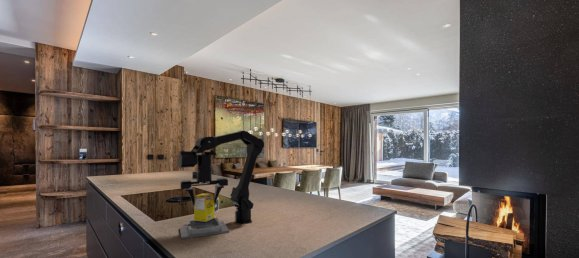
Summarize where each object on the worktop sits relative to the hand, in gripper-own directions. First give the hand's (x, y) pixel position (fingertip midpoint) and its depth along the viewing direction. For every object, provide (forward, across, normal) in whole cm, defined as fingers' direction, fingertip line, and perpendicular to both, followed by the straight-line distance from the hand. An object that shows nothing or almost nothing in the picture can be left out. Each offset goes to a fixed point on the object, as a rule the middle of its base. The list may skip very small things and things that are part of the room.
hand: (204, 203), depth 110 cm
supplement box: (+7, 0, 0) cm, 7 cm away
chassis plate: (+11, 0, 0) cm, 11 cm away
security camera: (+11, -4, -14) cm, 19 cm away
